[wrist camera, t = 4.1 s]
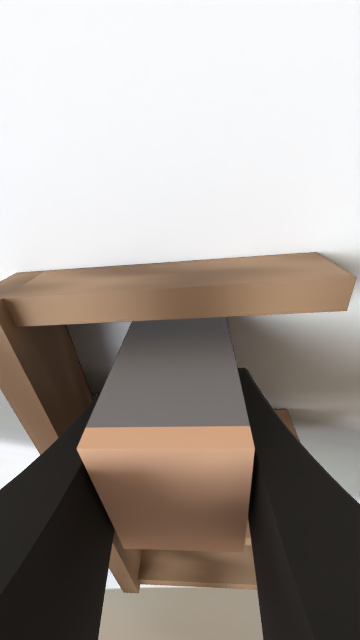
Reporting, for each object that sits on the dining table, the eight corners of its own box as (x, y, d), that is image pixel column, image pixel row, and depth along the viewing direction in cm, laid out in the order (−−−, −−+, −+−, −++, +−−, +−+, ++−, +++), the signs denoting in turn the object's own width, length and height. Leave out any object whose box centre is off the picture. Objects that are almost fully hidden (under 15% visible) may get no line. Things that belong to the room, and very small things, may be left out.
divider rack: (132, 543, 22) (122, 601, 19) (16, 272, 10) (-65, 316, 7) (276, 548, 21) (289, 610, 18) (352, 249, 9) (437, 289, 6)
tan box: (152, 397, 13) (124, 548, 8) (136, 311, 10) (76, 449, 5) (223, 396, 12) (243, 552, 7) (223, 307, 10) (254, 448, 5)
